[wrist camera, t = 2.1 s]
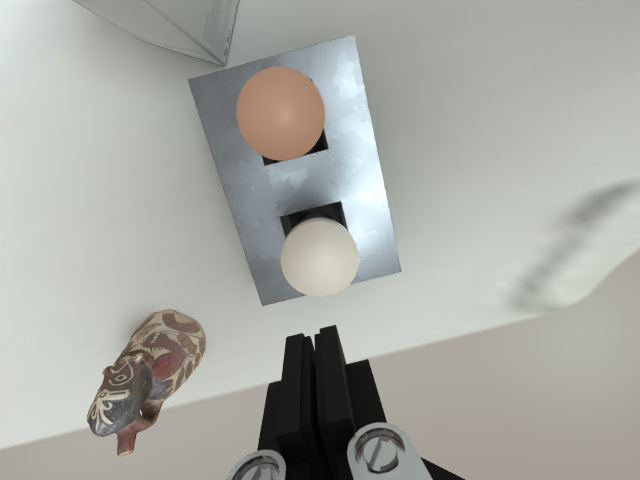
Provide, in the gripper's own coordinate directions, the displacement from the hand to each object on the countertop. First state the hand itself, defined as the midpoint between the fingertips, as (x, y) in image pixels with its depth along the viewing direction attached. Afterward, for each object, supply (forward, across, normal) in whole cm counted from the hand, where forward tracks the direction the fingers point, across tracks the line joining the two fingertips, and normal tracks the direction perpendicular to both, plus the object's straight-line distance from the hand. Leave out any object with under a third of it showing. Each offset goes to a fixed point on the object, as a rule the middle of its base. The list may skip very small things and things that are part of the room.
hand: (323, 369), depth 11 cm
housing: (+22, 0, -5) cm, 23 cm away
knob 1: (+18, 0, -9) cm, 20 cm away
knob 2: (+18, 0, 0) cm, 18 cm away
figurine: (+23, +18, +8) cm, 30 cm away
